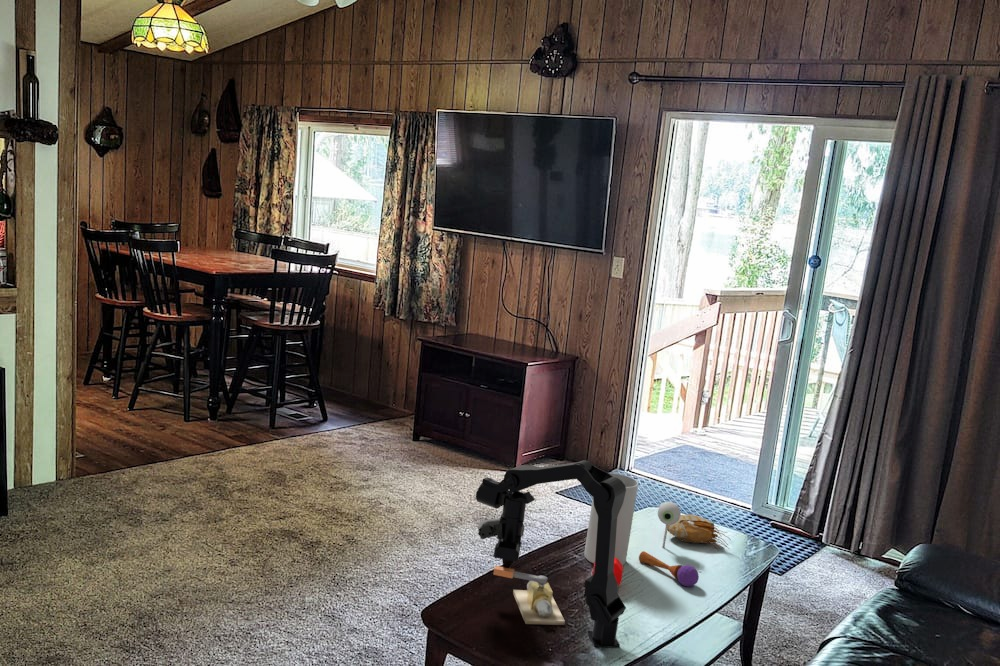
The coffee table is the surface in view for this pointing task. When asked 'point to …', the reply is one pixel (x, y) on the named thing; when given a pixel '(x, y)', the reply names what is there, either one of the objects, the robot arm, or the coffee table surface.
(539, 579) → the valve lever
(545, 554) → the coffee table surface
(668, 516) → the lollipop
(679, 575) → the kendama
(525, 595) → the valve board
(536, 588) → the valve
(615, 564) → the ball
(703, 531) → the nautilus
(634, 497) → the cylinder vase
